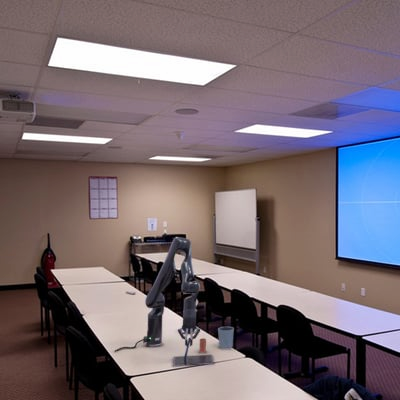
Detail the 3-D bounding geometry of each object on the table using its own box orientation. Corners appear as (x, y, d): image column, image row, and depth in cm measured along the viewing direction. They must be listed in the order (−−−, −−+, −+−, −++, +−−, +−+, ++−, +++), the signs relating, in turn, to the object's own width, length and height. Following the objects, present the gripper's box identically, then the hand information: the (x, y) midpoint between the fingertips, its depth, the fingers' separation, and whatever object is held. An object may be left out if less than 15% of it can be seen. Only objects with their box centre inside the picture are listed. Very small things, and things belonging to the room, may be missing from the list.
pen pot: (199, 353, 257) (199, 340, 257) (199, 351, 260) (199, 338, 261) (205, 353, 257) (206, 340, 258) (205, 351, 261) (205, 338, 261)
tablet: (173, 366, 235) (173, 364, 235) (174, 357, 249) (174, 356, 249) (213, 364, 239) (213, 362, 239) (211, 355, 253) (211, 354, 253)
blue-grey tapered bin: (221, 350, 263) (221, 331, 263) (215, 346, 272) (215, 327, 272) (236, 348, 268) (236, 329, 268) (230, 343, 276) (230, 325, 277)
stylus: (183, 360, 242) (188, 337, 243) (183, 359, 244) (188, 337, 244) (185, 360, 243) (190, 338, 243) (185, 359, 244) (190, 337, 244)
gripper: (201, 314, 249) (200, 343, 249) (177, 314, 247) (176, 344, 246) (201, 317, 242) (200, 347, 241) (177, 317, 239) (176, 348, 239)
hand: (188, 345), depth 244 cm, fingers closed, pressing on stylus
